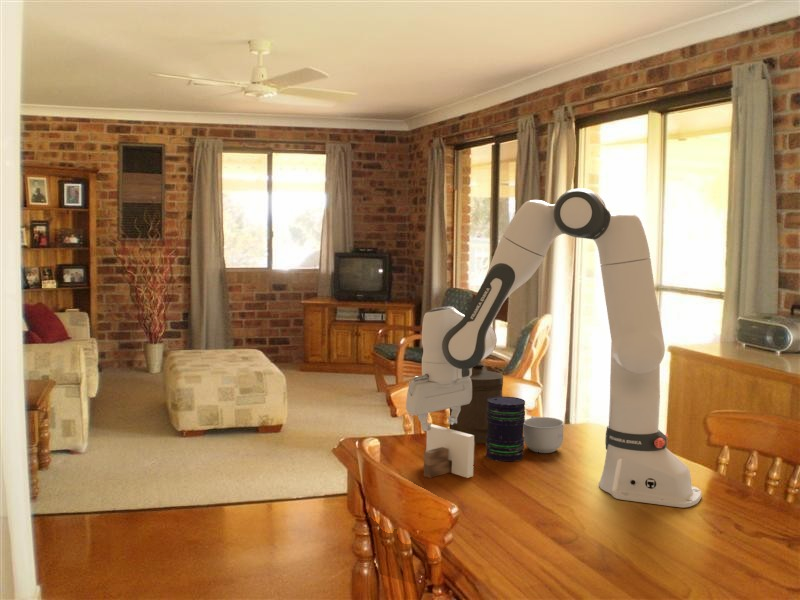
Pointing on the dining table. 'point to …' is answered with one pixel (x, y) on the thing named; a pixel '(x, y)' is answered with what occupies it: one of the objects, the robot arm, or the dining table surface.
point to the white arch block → (453, 448)
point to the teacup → (543, 434)
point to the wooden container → (478, 403)
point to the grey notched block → (438, 462)
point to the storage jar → (505, 428)
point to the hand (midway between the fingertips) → (439, 427)
